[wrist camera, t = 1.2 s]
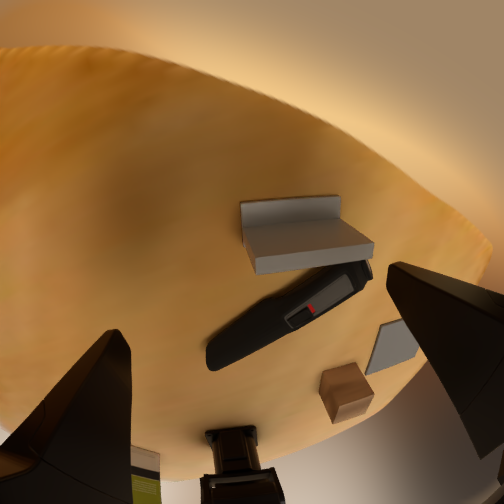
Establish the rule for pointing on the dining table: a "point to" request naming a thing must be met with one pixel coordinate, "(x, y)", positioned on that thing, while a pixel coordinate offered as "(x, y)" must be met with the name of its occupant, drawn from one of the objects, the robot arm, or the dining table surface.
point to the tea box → (145, 476)
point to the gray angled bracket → (299, 234)
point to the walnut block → (345, 392)
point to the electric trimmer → (287, 312)
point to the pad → (392, 346)
